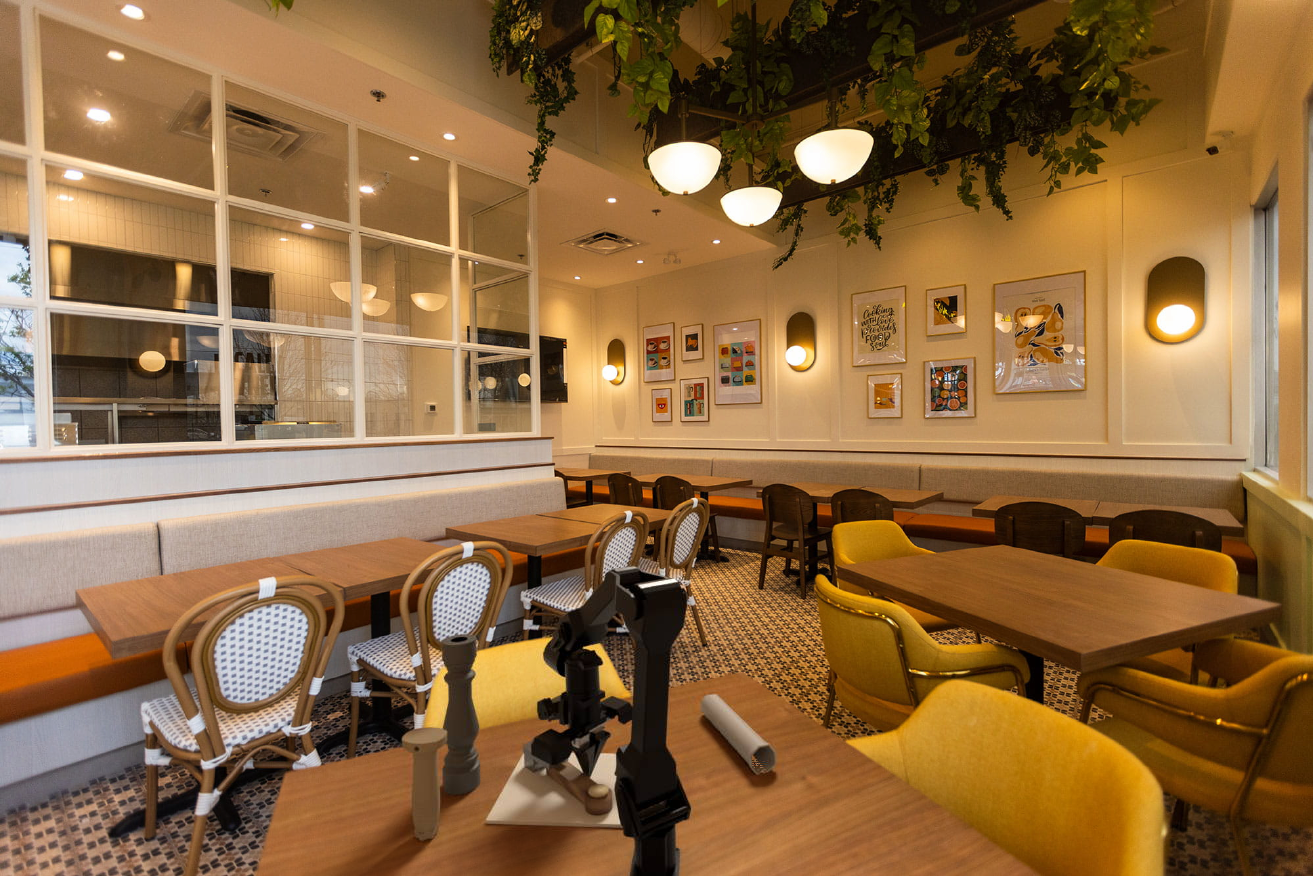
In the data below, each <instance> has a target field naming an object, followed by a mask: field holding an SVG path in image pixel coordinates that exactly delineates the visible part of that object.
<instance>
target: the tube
mask: <svg viewBox="0 0 1313 876" xmlns="http://www.w3.org/2000/svg"><path fill="white" fill-rule="evenodd" d="M700 701H701V702H700V710H701V712H702V714H703V715H704V716H705V717H706V718H707V720H708V721H709V722H710V721H711V722H710V723H711V724H712V725H713V727H715V728H716V729H717V731H720V732H719V733H720V734H721V735H722V736H723V737H724V738H725V739H726V741H727V740H728V741H727V742H728V743H729V744H730V745H731V746H732V748H734V750H737V751H736V752H737V753H738V754H739V755H740V756H741V757H742V758H743V760H744V761H745V762H746V763H747V764H748V766H749V768H751V770H752V772H754V774H755V775H757V776H758V775H760V774H759V773H763V774H766V771H768V772H767V773H770V772H769V771H772V770H773V768H775V766H777V751H776V750H775V749H774V748H773V746H771V744H770V743H769V742H766V741H765V740H764V739H763V738H762V736H760V735H759V734H758V733H757V732H756V731H754V729H753V728H752V727H750V726H749V725H748V724H747V723H746V722H745V721H744V719H743V718H741V717H740V715H738V714H737V713H736V712H735V711H734V709H732V708H731V707H730V706H729V705H728V704H727V703H726V702H725V701H724V700H723V699H722V698H721V697H720V696H719V694H717V693H714V694H707V695H705V696H704V697H703V699H702V700H700ZM752 755H753V756H754V757H755V759H757V760H756V761H758V762H752V761H754V760H752ZM752 763H754V764H752ZM755 763H760V764H757V765H758V766H756V764H755ZM752 765H754V766H752ZM760 765H762V766H760ZM754 767H755V768H754ZM760 767H763V768H760ZM758 769H759V770H758ZM763 769H766V770H763ZM762 770H763V771H764V772H761V771H762Z"/></svg>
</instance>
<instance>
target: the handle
mask: <svg viewBox="0 0 1313 876" xmlns="http://www.w3.org/2000/svg"><path fill="white" fill-rule="evenodd" d="M446 742H447V731H446V730H444V729H443V728H441V727H433V726H432V727H430V726H429V727H427V726H425V727H420V728H413V729H411V730H409V731H407V732H405V734H403V736H402V737H401V745H402V749H404V750H405V751H406V752H409V753H411V754H412V757H413V758H412V759H413V760H412V761H413V762H412V785H411V786H412V788H411V812H412V813H411V814H412V815H411V816H412V821H413V822H412V823H413V827H414V828H413V832H414V836H415V838H416V839H417V838H418V840H419V841H420V842H424V841H426V840H430V839H434V837H435V836H436V835H437V833H438V832H439V826H440V823H439V819H440V814H441V813H440V811H441V808H440V807H441V790H440V789H441V788H440V779H439V766H438V765H439V764H438V750H439V749H441V748H442V747H443V746H445V745H446Z"/></svg>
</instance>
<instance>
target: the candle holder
mask: <svg viewBox="0 0 1313 876" xmlns="http://www.w3.org/2000/svg"><path fill="white" fill-rule="evenodd" d="M477 645H478V644H477V637H476V635H473V634H472V633H471V634H470V633H469V634H468V633H464V634H463V633H462V634H454V635H450V636H447V637H445V638H443V639H442V640H441V660H442V661H441V662H443V666H444V667H445V668H446V671H447V672H446V673H445V675H444V676H443V680H444V682H445V683H446V685H448V686H447V689H448V691H447V692H448V695H447V696H448V702H447V707H446V711H445V716H444V719H443V723H442V724H443V725H442V729H444V730H446V731H447V742H446V743H445V745H447V747H446V748H447V750H448V751H447V753H446V754H445V756H444V758H443V763H444V765H443V767H442V771H441V772H442V773H441V775H442V790H443V792H444V793H445V794H447V795H451V796H459V795H460V796H461V795H465V794H468V793H470V792H473V791H474V790H476V789H477V788H478V787H479V785H480V783H481V761H480V759H479V751H478V750H477V749H476V748H475V743H476V742H475V741H476V740H477V737H478V735H479V731H480V723H479V720H478V715H477V711H476V709H475V705H474V700H473V688H472V687H473V685H472V684H473V680H474V679H475V678H476V675H477V673H476V671H475V670H474V669H473V665H474V664H475V661H476V658H477V656H478V654H477V652H478V651H477V648H478V647H477Z"/></svg>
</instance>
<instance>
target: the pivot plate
mask: <svg viewBox="0 0 1313 876" xmlns="http://www.w3.org/2000/svg"><path fill="white" fill-rule="evenodd" d="M522 753H523V752H522ZM568 762H569V763H571V764H572V765H573V766H575V767H576V768H577V769H579V770H580V771H581V772H583V771H582V769H581V767H580V764H579V762H578V760H577V757H576V755H575V754H574V752H572V753H571V755H570V757H569V758H568ZM615 770H616V753H606V752H605V753H604V752H603V753H602V752H601V754H600V756H599V758H598V760H597V763H596V765H595V768H594V770H593V772H592V775H591V777H590V778H591V779H592V780H593V781H595V782H596V783H597V784H595V785H592V786H591V787H590V788H589V790H588V793H589V795H590V796H592V797H595V798H599V797H603V796H605V795H607V794H608V792H609V788H610V789H611V790H612V797H613V807H612V809H611V810H610V811H609V812H608V813H606V814H603V815H591V814H589V813H587V812H586V810H585V805H584V804H582V803H581V802H580V801H579V800H578V799H576V798H575V797H574V796H573V795H572V794H570V793H569V792H568V791H567V790H565V789H564V788H563V787H562V786H561V785H559V784H558V783H557V782H556V781H555V780H553V779H552V778H551V777H550V776H549V775H547V774H546V767H545V768H543V769H541V770H538V771H536V772H534V773H533V772H532V771H530V770H529V769H527V768H526V767H524V753H523V754H522V755H521V757H520V759H519V761H518V763H517V764H516V766H515V768H514V770H513V771H512V773H511V775H510V777H509V778H508V780H507V781H506V784H505V786H504V787H503V789H502V790H501V792H500V794H499V796H498V798H497V799H496V802H495V803H494V805H493V806H492V809H491V810H490V811H489V813H488V816H487V817H486V819H485V824H488V825H489V824H490V825H491V824H492V825H519V826H521V825H524V826H526V825H527V826H549V827H550V826H551V827H552V826H554V827H584V828H585V827H586V828H591V827H592V828H614V829H615V828H616V829H617V828H620V829H621V828H622V829H623V827H622V826H621V824H620V820H619V815H618V809H617V803H616V797H615V791H614V788H615V782H616V776H615V774H614V773H615Z"/></svg>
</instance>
